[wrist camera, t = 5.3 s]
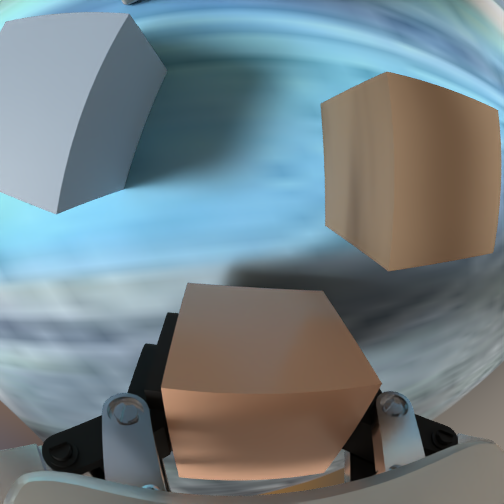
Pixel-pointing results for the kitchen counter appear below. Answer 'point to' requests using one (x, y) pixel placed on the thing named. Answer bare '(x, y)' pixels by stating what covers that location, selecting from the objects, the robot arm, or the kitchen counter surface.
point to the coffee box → (128, 1)
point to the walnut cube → (411, 171)
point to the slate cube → (72, 105)
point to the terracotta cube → (261, 383)
